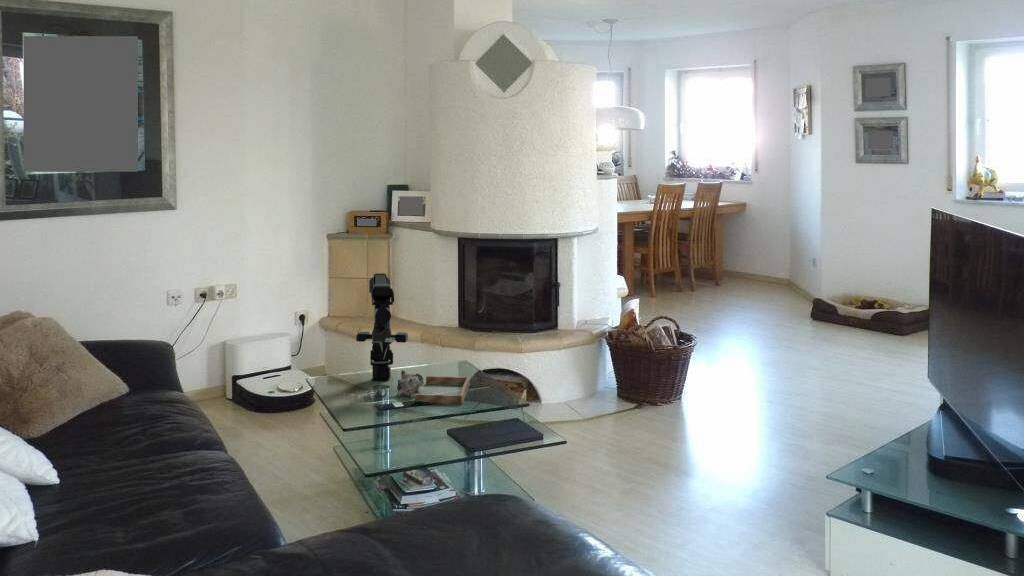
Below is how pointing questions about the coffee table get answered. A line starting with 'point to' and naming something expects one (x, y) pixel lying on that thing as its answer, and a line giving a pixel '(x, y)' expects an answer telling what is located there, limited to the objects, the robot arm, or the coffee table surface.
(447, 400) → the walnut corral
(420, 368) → the coffee table surface
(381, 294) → the robot arm
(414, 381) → the decorative stone
